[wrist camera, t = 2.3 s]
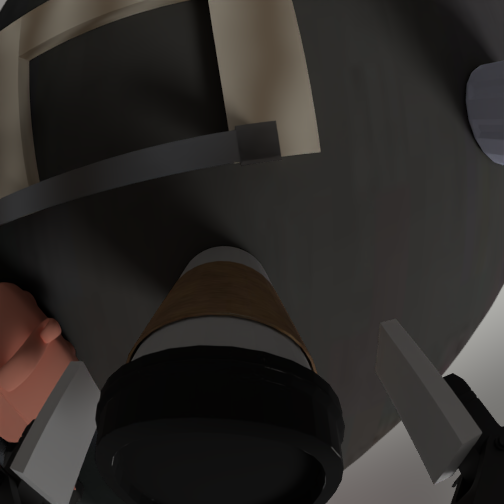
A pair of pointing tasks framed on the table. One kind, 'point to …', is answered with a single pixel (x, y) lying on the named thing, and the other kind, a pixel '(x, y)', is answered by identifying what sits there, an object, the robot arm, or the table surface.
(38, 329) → the teapot
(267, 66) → the cream rectangular frame
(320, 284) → the table surface
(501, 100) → the spray bottle
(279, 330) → the coffee cup
